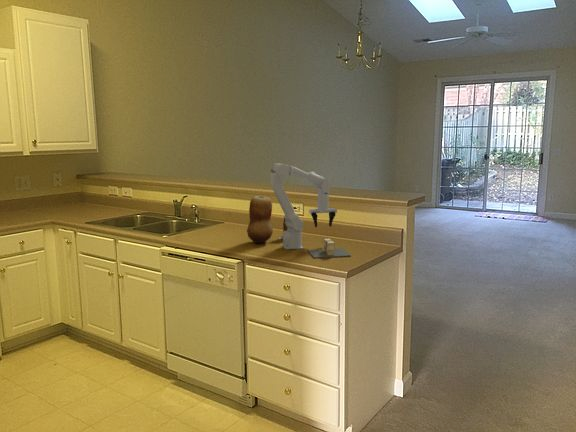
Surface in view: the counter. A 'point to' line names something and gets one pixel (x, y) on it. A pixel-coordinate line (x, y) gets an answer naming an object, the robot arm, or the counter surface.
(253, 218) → the butternut squash
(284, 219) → the condiment
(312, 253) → the mat
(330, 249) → the tile
